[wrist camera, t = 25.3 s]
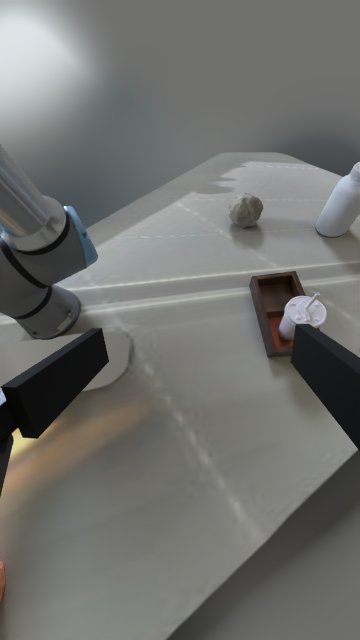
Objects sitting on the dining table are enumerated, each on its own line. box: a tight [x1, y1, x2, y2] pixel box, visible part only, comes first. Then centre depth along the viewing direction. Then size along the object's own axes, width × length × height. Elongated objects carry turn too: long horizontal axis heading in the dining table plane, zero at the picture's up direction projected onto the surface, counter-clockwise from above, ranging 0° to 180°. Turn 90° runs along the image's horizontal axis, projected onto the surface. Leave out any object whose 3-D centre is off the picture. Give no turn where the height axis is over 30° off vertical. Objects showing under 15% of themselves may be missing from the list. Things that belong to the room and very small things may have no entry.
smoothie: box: [278, 292, 327, 340], centre depth 35 cm, size 6×6×14 cm
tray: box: [249, 271, 320, 357], centre depth 43 cm, size 10×19×4 cm, turn 2°
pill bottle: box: [315, 162, 360, 237], centre depth 47 cm, size 8×8×15 cm
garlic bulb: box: [229, 193, 263, 228], centre depth 55 cm, size 9×8×10 cm
